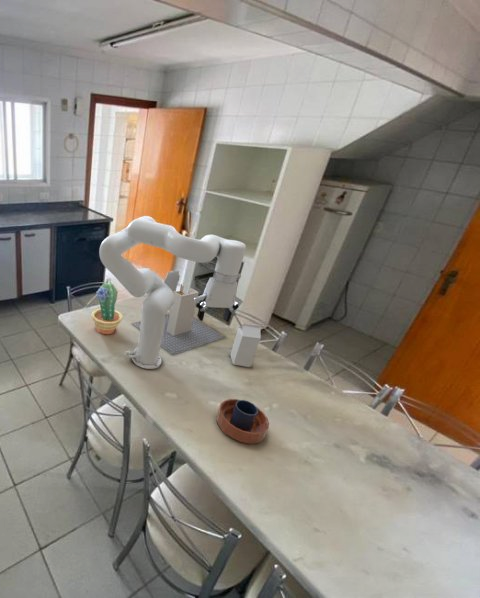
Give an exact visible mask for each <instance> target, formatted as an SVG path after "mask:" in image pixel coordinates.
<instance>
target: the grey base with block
mask: <svg viewBox="0 0 480 598" xmlns="http://www.w3.org/2000/svg"><path fill="white" fill-rule="evenodd" d="M173 293H174V296H175V300H174V303H173V305H172V306H171V307H170V308H169V310H168V311H167V313H169V314H166V315H165V325H164V331H163V337H162V342H161V348H163V349H164V351H165V350H166V351H167V352H168V353H169V354H170V355H174V356H175V355H177V354H180V353H182V352H186V351H189V350H191V349H194V348H197V347H200V346H203V345H206V344H209V343H212V342H215V341H217V340H220V339H223V338H225V335H223V334H221V333H219V332H217V330H214V329H213V328H211V327H209V326H208V325H207V324H204V323H203V322H202V321H200V320H199V319H196V318H195V317H194V316H195V313H196V312H195V310H196V307H197V306H196V304H195V301H194V298H195V297H198V296H199V294H200V293H199V291H197V290H195V289H194V288H192V287H189V290H188V293H187V294H185V292H184V285H183V283H181V284H180V288H179V290H176V291H175V290H174V292H173ZM132 325H133V326H134V327H135V328H137V329H138V330H140V325H141V321H140V322H137V323H134V324H132Z"/></svg>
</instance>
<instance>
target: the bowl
mask: <svg viewBox="0 0 480 598" xmlns="http://www.w3.org/2000/svg"><path fill="white" fill-rule="evenodd" d="M239 400H240V399H238V398H229V399H225V400H224V401H222V402H220V405H219V407H218V410H217V413H216V416H215V417H216V423H217V425H218V426H219V429H221V430H222V432H223V433H224V434H226V435H227V436H229V437H230V438H231V439H233V440H235V441H238V442H240V443H244V444H247V445H249V444H250V445H251V444H252V445H253V444H254V445H255V444H258V443H261V442H262V441H263V440H264V439H265V437H266V436H267V433H268V431H269V429H270V422H269V421H270V420H269V418H268V417H267V416H266V414H265V413H264V412H263V410H261V409H260V408H259V407H258V406H256V407H257V409H258V414H257V417H256V419H255V422H254V424H253V427H252V429H251V431H250V432H247V431H243V430H241V429H239V428H236V427H235V426H233V425H232V424H230V418H231V415H232V412H233V409H234V406H235V404H236V402H237V401H239Z"/></svg>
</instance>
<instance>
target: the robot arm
mask: <svg viewBox="0 0 480 598" xmlns="http://www.w3.org/2000/svg"><path fill="white" fill-rule="evenodd" d="M139 244H143V245H147V246H151V247H154V248H155V247H156V248H159V249H162V250H165V251H167V252H169V253H170V254H172V255H173V256H175V257H178V258H180V259H183V260H187V261H191V262H195V263H200V264H207V263H209V262H211V261H213V260H214V259H215V258H217V260H216V264H215V266H214V267H215V268H214V271H213V275H212V277H209V279H208V281H207V282H206V285H205V288H204V290H203V293H202V294H201V295H198V297H195V298H194V301H195V304H196V307H197V308H198V311H197V314H196V316H197V317H196V318H197V319H198V321H200V322H203V321H204V318H205V314H206V311H205V310H207V309H208V308H216V309H219V308H221V309H225V310H224V312H223V317H222V318H223V320H224V321H225V322H226V323H229V322H230V320H231V317H232V315H233V313H235V311H236V310H237V309H238V308H240V306H241V305H242V304H243V302H244V301H243V300H242V299H241V298H239V297H238V296H237V291H238V279H241V278H242V274H241V273H240V270H241V267H242V263H243V260H244V257H245V254H246V249H247V246H246V244H245V242H242V241H240V240H234V239H227V238H224V237H221V236H219V235H217V234H216V235H215V234H206V235H204V236H203V237H201V239H197V238H193V237H189V236H186V235H184V234H181V233H180V232H178V231H177V230H176V228H175V227H174V226H173V225H170V224H166V223H161V222H157V221H156V220H155V218H153V217H151V216H148V215H143V216H140V217H138V218H135V219H132V221H131V222H129V224H128V226H127V227H125V228H123V229H122V230H119V231H118V232H115V233H112V234H110V235H108V236H106V238H104V239H103V241H102V242H101V244H100V245H99V251H98V253H99V259H100V262H101V264H102V265H103V266H104V267H105V268H106V269H107V270H108V271H109V272H110V273H111V275H113V277H115V278H116V280H117V281H118V282H119V284H121V285H122V286H123V287H124V289H125V290H126V291H127V292H128V294H130V295H131V296H132V297H135V298H141V297H143V296H145V295H147V297H146V298H145V299H144V301H143V302H142V305H141V310H140V311H141V316H140V317H141V318H140V322H141V325H140V329H139V333H138V339H137V346H136V347H134V349H132V350H125V351H124V354H125V356H128V358H129V359H131V360H132V362H133V364H135V365H136V366H138V367H139V368H142V369H146V370H155V369H158V368H159V367H160V366H161V365H162V362H163V360H162V358H161V356H160V352H161V348H162V346H161V342H162V337H163V331H164V325H165V316H166V315H167V313H168V310H169V309H170V307H171V306H172V305H173V303H174V300H175V296H174V293H173V292H172V290H171V289H170V288H169V287H168V286H167V285H166V283H165V282H164V280H163V279H162V278H161V277H160V276H159V275H158V273H156V271H154V270H152V269H150V268H149V267H148V268H147V267H142V268H139V269H138V268H137V267H135V266H134V264H133V263H132V262H131V261H130V260H129V259H127V258H125V257H123V256H122V255H123V254H124V253H126V252H128V251H129V250H131V249H133V248H135V247H136V246H138V245H139ZM200 302H201V303H200Z"/></svg>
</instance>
